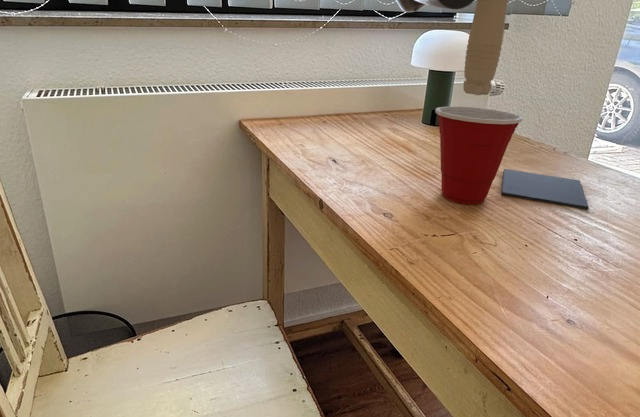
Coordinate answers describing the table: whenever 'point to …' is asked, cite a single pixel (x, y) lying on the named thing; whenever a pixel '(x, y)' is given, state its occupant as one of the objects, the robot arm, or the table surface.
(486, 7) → the handle
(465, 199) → the plastic cup
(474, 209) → the table surface
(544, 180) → the mat
